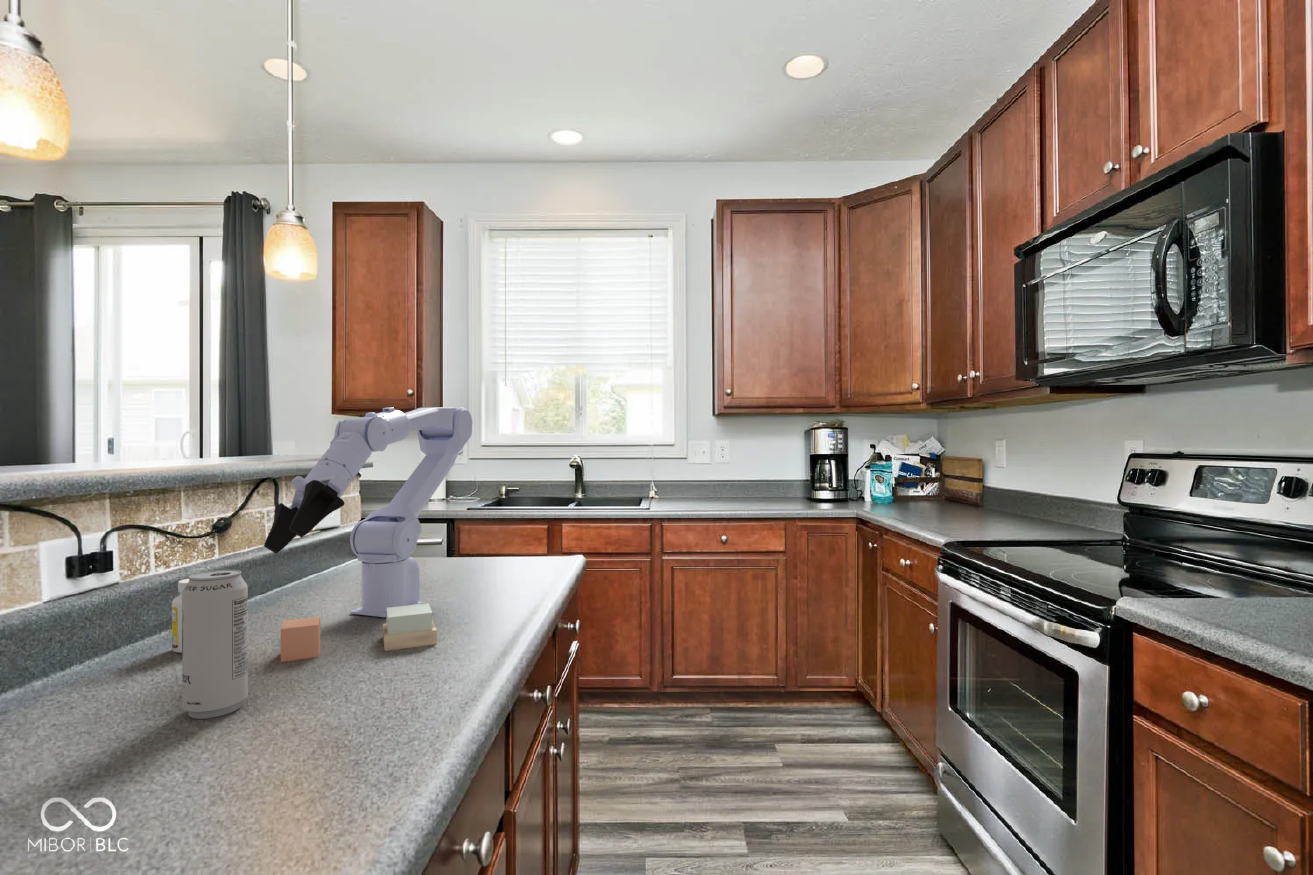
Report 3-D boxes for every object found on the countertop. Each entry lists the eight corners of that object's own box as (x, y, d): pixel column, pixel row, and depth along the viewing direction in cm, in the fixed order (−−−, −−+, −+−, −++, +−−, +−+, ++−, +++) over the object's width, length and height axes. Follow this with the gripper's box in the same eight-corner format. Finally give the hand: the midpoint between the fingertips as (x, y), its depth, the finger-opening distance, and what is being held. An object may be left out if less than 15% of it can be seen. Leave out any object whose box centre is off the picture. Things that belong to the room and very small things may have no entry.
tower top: (386, 624, 97) (386, 607, 97) (428, 619, 100) (428, 603, 100) (387, 635, 92) (387, 617, 92) (432, 629, 94) (432, 612, 94)
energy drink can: (192, 702, 73) (191, 570, 73) (253, 695, 75) (253, 566, 76) (173, 724, 68) (173, 581, 68) (240, 715, 70) (240, 576, 70)
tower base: (383, 640, 98) (382, 623, 98) (431, 634, 101) (431, 618, 101) (384, 654, 91) (384, 636, 91) (436, 647, 94) (436, 629, 94)
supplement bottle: (227, 642, 95) (226, 576, 96) (197, 654, 90) (197, 584, 90) (193, 641, 96) (192, 575, 96) (161, 653, 91) (161, 583, 91)
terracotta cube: (284, 652, 91) (284, 620, 91) (320, 647, 93) (320, 616, 93) (280, 662, 87) (280, 628, 87) (318, 657, 89) (318, 624, 89)
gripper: (289, 473, 103) (235, 540, 93) (335, 439, 95) (282, 507, 85) (327, 500, 106) (278, 567, 96) (375, 468, 98) (327, 538, 88)
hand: (283, 541), depth 91 cm, fingers open, 7 cm apart
